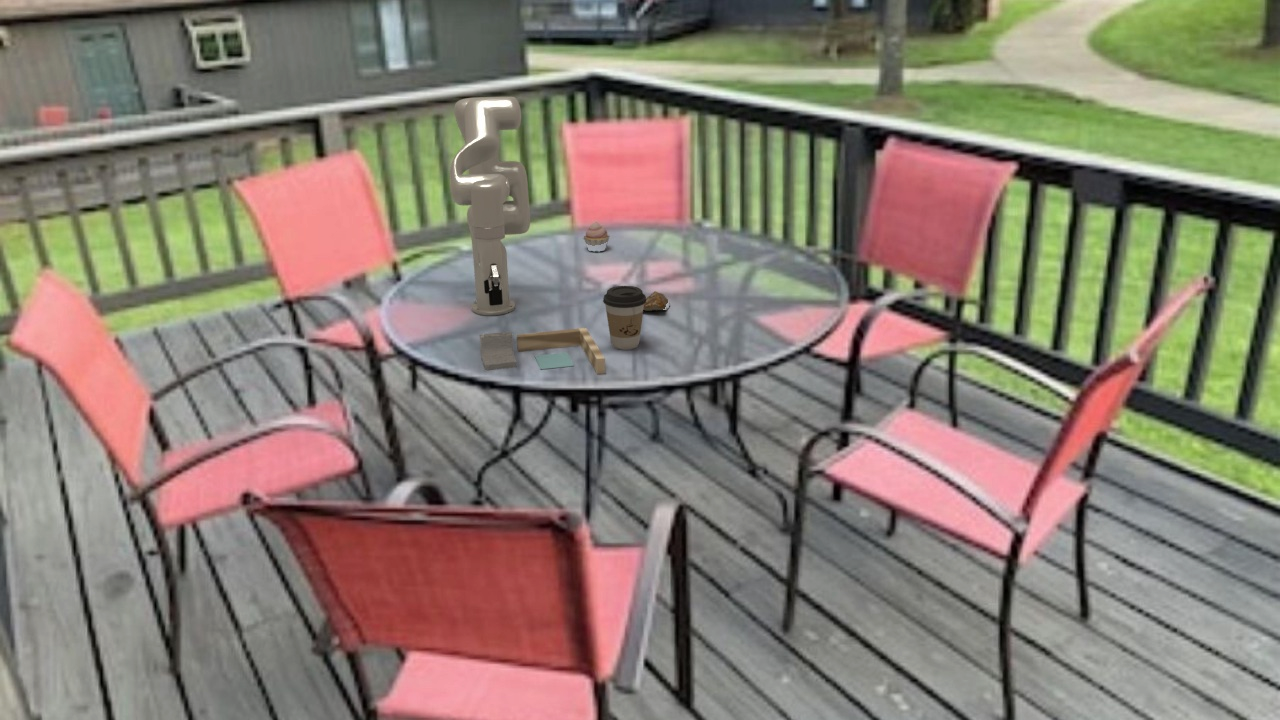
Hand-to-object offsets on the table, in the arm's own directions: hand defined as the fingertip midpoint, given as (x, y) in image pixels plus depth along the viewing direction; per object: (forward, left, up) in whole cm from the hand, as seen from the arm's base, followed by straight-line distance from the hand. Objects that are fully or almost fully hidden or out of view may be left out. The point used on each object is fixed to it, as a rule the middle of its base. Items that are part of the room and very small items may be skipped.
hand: (493, 298), depth 248 cm
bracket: (+2, 0, -17) cm, 17 cm away
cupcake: (-90, +46, -17) cm, 102 cm away
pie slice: (-27, +49, -17) cm, 59 cm away
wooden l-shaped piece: (+5, +15, -17) cm, 23 cm away
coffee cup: (-1, +34, -17) cm, 38 cm away
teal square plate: (+5, +14, -17) cm, 22 cm away
